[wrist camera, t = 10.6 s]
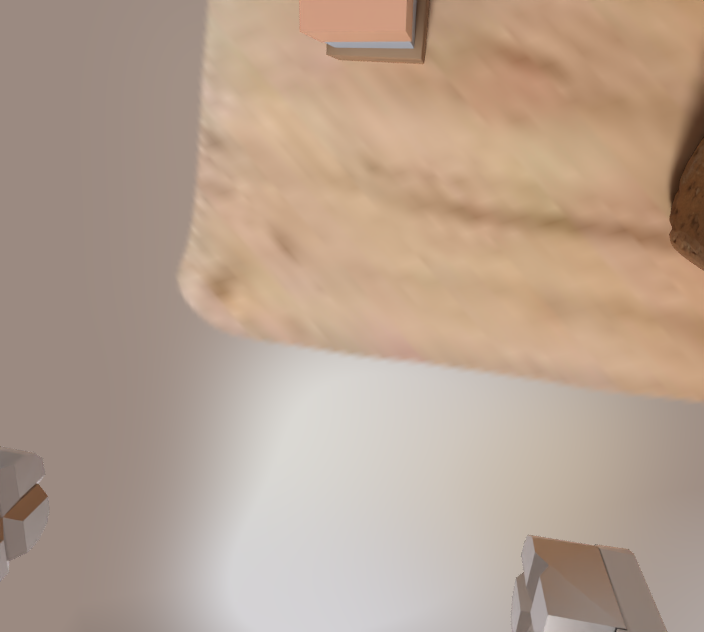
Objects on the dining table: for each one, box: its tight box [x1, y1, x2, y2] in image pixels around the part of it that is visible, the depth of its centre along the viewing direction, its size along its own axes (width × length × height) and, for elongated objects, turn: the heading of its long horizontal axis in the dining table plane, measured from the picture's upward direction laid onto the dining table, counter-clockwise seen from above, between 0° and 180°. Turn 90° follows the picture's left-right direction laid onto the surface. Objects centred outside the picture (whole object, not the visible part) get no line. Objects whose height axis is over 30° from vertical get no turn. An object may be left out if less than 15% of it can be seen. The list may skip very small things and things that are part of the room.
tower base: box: [326, 0, 430, 64], centre depth 38 cm, size 6×6×5 cm
